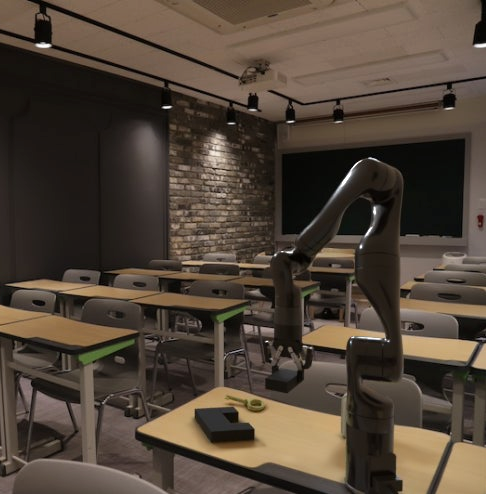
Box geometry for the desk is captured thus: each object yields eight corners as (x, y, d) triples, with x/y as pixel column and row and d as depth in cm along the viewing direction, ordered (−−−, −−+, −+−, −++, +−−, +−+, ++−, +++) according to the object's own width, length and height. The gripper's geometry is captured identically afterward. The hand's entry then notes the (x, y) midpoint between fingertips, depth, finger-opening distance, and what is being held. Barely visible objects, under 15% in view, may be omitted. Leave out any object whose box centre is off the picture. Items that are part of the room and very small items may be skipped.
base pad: (254, 439, 130) (254, 428, 130) (211, 442, 129) (211, 431, 129) (233, 416, 146) (233, 406, 146) (194, 418, 145) (194, 408, 144)
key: (224, 400, 159) (224, 394, 159) (264, 403, 156) (264, 396, 156) (224, 408, 152) (224, 402, 152) (265, 412, 149) (265, 405, 149)
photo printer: (359, 426, 138) (360, 383, 137) (374, 431, 134) (375, 387, 134) (338, 435, 132) (338, 390, 132) (353, 441, 129) (354, 395, 128)
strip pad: (301, 382, 138) (301, 371, 138) (287, 393, 129) (287, 382, 129) (280, 378, 142) (280, 368, 142) (265, 389, 132) (265, 378, 132)
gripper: (318, 322, 136) (317, 382, 136) (268, 316, 145) (267, 372, 145) (310, 326, 130) (309, 389, 131) (258, 320, 139) (257, 379, 139)
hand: (287, 380), depth 138 cm, fingers closed on strip pad, 6 cm apart
